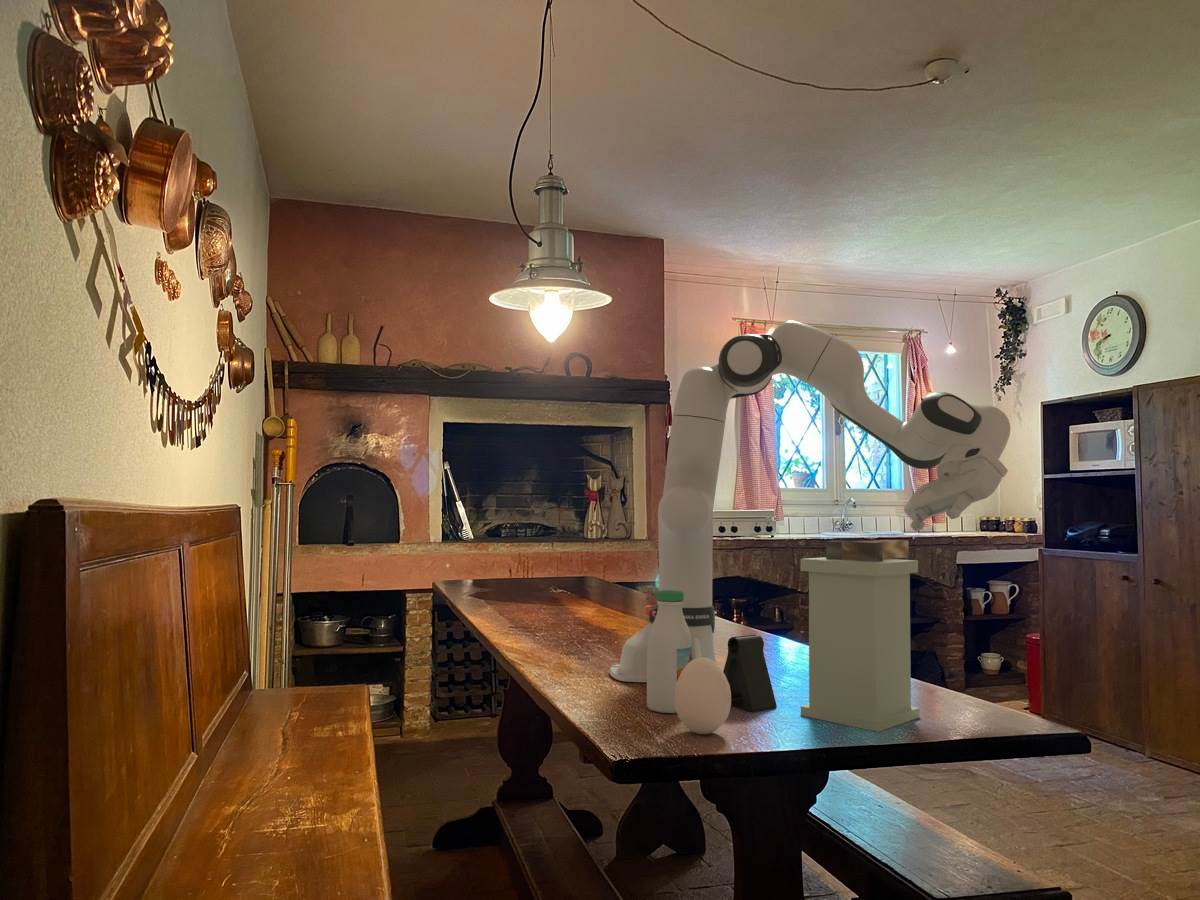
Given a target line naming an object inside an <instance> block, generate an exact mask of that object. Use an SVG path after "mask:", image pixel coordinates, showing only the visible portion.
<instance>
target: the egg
mask: <svg viewBox="0 0 1200 900" xmlns="http://www.w3.org/2000/svg"><path fill="white" fill-rule="evenodd" d="M723 671H724V670H723V669H722V668H721V666H719V664H718V663H717V664H716V663H715V662H714V661H712V660H711V659H708V658H703V657H700V658H696V659H694V660H692V661H691V662H689V663H688V664H687V665H686V667H685V668H684V669H683V670H682V672H681V674H680V676H679V678H678V681H677V683H676V687H675V695H674V702H675V708H676V712H677V713H676V714H677V716H678V718H679V720H680V721H681V723H682V724H683V725H684V726H685V727H686V728H687V729H688V730H690V731H691V732H693V733H696V734H700V735H709V734H712V733H713V732H716V731H717V730H719V728H721V727H722V725H724V723H725V722H726V721H727V719H728V717H729V714H730V711H731V708H732V707H731V691H730V685H729V683H728V681H727V678H726V676H725V674H724V672H723Z"/></svg>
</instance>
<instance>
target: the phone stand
mask: <svg viewBox="0 0 1200 900" xmlns="http://www.w3.org/2000/svg"><path fill="white" fill-rule="evenodd" d="M764 646H765V642H764V638H763V637H762V636H761V635H759V634H750V635H747V634H746V635H740V636H739V635H738V636H731V637H730V638H728V640H727V655H726V659H725V664H724V666H723V670H722V671H723V672H724V674H725V676H726V678H727V681H728V683H729V685H730V691H731V708H734V709H737V710H741V711H743V712H744V711H745V712H748V713H756V712H760V711H767V710H771V709H776V708H777V705H778V704H777V702H776V699H775V698H776V697H775V694H774V689H773V687H772V682H771V679H770V678H771V677H770V674H769V671H768V670H769V668H768V665H767V662H766V657H765V654H764Z"/></svg>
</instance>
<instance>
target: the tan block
mask: <svg viewBox="0 0 1200 900" xmlns="http://www.w3.org/2000/svg"><path fill="white" fill-rule="evenodd" d="M825 557H826V559H837V560H854V561H871V562H879V561H883V559H903V558H905V559H906V558H909V540H904V539H884V540H883V539H882V540H881V539H880V540H876V539H875V540H858V541H857V540H856V541H854V540H853V541H851V540H849V541H845V540H826V541H825Z"/></svg>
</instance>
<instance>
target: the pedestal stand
mask: <svg viewBox="0 0 1200 900" xmlns="http://www.w3.org/2000/svg"><path fill="white" fill-rule="evenodd" d="M800 572H808V704H804V705H801V706H800V716H802V717H806V718H812V719H816V720H820V721H825V722H831V723H835V724H840V725H845V726H848V727H849V726H850V727H854V728H859V729H863V730H867V731H874V732H877V733H878V732H882V731H885V730H888V729H891V728H893V727H896V726H899V725H902V724H906V723H908V722H910V721H913V720H916V719H919V718H920V716H921V715H920V712H921V711H920V707H917V706H916V707H915V706H912V689H911V688H912V684H911V683H912V680H911V679H912V677H911V676H912V674H911V668H912V667H911V666H912V664H911V661H912V660H911V658H912V657H911V577H910V576H911V575H910V574H915V573H917V574H918V573H919V560H918V559H917V560H914V559H902V558H891V559H883V561H879V562H871V561H854V560H837V559H826V556H825V557H811V558H809V557H808V558H800Z"/></svg>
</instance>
